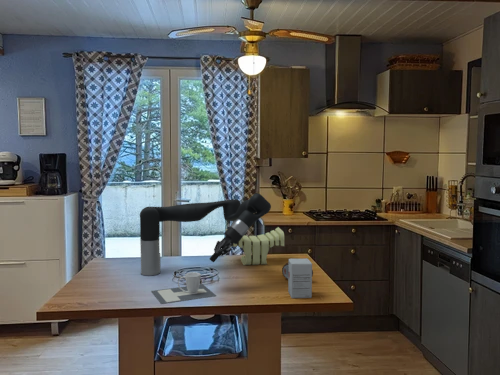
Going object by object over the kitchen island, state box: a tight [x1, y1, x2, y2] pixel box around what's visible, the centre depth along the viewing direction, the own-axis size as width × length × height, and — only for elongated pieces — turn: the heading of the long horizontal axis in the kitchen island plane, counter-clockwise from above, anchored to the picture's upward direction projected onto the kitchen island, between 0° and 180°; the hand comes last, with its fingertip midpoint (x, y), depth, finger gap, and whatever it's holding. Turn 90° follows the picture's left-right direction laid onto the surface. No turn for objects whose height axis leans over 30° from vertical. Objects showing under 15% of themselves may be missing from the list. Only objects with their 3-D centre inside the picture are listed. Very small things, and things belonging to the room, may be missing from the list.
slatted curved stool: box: [225, 226, 285, 266], centre depth 253 cm, size 30×16×18 cm, turn 98°
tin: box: [281, 261, 314, 280], centre depth 221 cm, size 15×3×8 cm, turn 65°
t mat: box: [150, 283, 217, 305], centre depth 201 cm, size 24×18×1 cm
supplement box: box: [287, 258, 313, 299], centre depth 199 cm, size 9×9×15 cm
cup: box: [177, 271, 202, 294], centre depth 202 cm, size 7×10×8 cm
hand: (211, 260), depth 205 cm, fingers closed
